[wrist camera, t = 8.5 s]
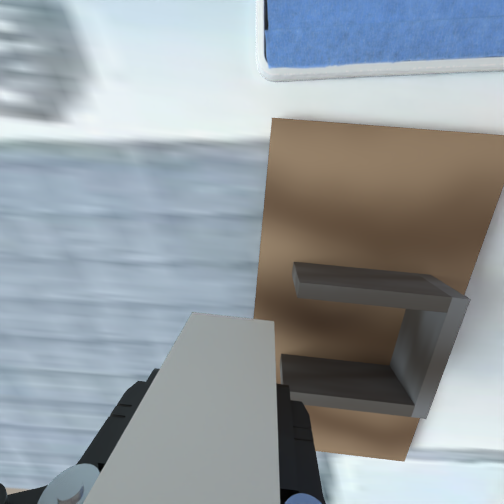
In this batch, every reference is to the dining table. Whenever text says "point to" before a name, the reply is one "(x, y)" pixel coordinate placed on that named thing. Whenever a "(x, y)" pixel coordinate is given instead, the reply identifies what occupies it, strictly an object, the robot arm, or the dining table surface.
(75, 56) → the dining table surface
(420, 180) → the holder
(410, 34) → the tablet computer
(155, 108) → the dining table surface
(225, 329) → the plug
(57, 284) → the dining table surface
